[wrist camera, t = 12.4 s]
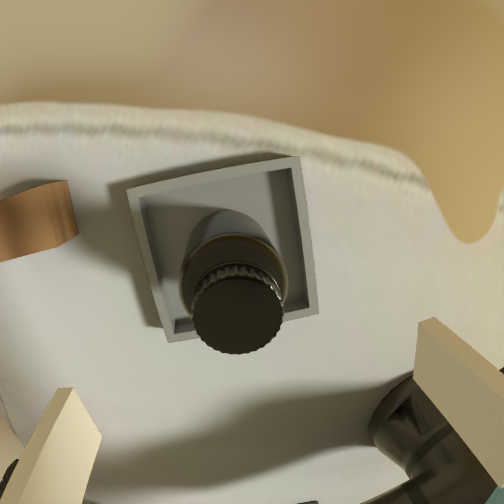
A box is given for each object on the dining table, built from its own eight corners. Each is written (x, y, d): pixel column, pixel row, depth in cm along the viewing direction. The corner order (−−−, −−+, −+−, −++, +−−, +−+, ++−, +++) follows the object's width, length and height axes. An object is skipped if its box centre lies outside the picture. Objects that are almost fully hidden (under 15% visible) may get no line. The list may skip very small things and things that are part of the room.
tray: (292, 156, 27) (299, 156, 24) (311, 301, 31) (319, 313, 28) (133, 186, 26) (126, 189, 24) (171, 329, 30) (168, 343, 27)
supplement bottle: (171, 238, 27) (142, 297, 15) (240, 193, 26) (261, 222, 15) (216, 301, 29) (220, 388, 17) (282, 260, 28) (325, 328, 17)
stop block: (66, 180, 25) (42, 184, 21) (79, 233, 26) (58, 246, 22) (3, 202, 24) (-23, 210, 20) (16, 250, 26) (-9, 264, 22)
